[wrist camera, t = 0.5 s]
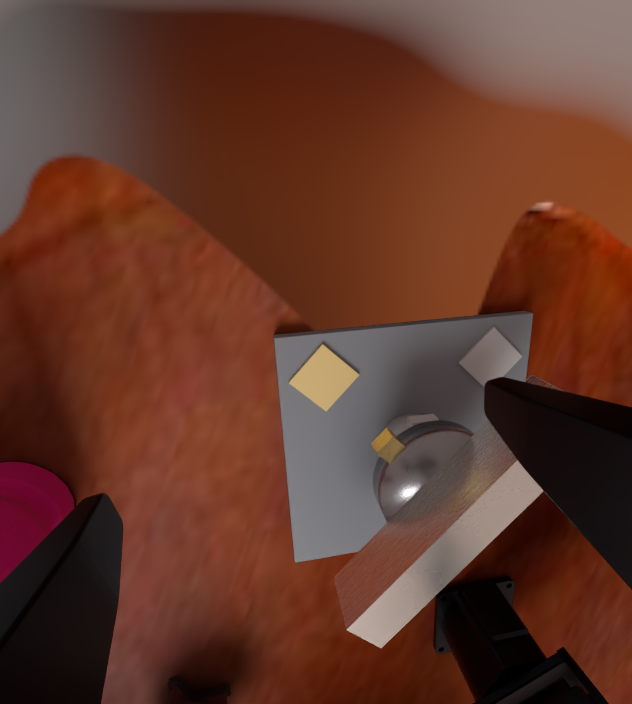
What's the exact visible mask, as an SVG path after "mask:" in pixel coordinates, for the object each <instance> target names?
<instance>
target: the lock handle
mask: <svg viewBox="0 0 632 704" xmlns="http://www.w3.org/2000/svg"><path fill="white" fill-rule="evenodd" d="M525 382H527V383H531V384H535V385H540V386H544V387H548V388H552V389H556V390H560V389H559V388H557V387H555V386H553V385H551V384H549V383H547V382H545V381H543V380H541V379H539V378H537V377H535V376H533V375H531V376H530V377H529V378H528V379H527V380H526V381H525ZM561 391H562V390H561ZM371 444H372V446H373V448H374V450H375V451H376V453H377V454H378V455H379V456H380V457H379V459H378V461H377V463H376V466H375V469H374V473H373V491H374V495H375V498H376V500H377V502H378V504H379V506H380V509H381V511H382V513H383V515H384V517H385V519H386V521H387V523H386V524H385V525H384V526H383V527H382V528H381V529H380V530H379V531H378V532H377V533H376V534H375V535H374V536H373V537H372V539H371V540H370V541H369V542H368V543H367V544H366V545H365V546H364V547H363V548H362V549H361V550H360V551H359V552H358V553H357V554H356V555H355V556H354V557H353V558H352V559H351V560H350V561H349V562H348V563H347V564H346V565H345V566H344V567H343V568H342V569H341V570H340V571H339V572H338V573H337V574H336V575H335V576H334V581H335V585H336V589H337V593H338V597H339V601H340V606H341V610H342V614H343V618H344V622H345V626H346V630H347V631H349V632H351V633H353V634H355V635H357V636H359V637H361V638H362V639H364V640H366V641H368V642H370V643H372V644H374V645H376V646H377V647H379V648H382V647H383V646H384V645H385V644H386V643H387V642H388V641H389V640H390V639H391V638H392V637H393V636H394V635H395V634H397V633H398V632H399V631H400V630H401V629H402V628H403V627H404V626H405V625H406V624H407V623H408V622H409V621H410V620H411V619H412V618H413V617H414V616H415V615H416V614H417V613H418V612H419V611H420V610H421V609H422V608H423V607H424V606H425V605H426V604H428V603H429V602H430V601H431V600H432V599H433V598H434V597H435V596H436V595H437V594H438V593H439V592H440V591H441V590H442V589H443V588H444V587H445V586H446V585H447V584H448V583H449V582H450V581H451V580H452V579H453V578H454V577H455V576H456V575H457V574H459V573H460V572H461V571H462V570H463V569H464V568H465V567H466V566H467V565H468V564H469V563H470V562H471V561H472V560H473V559H474V558H475V557H476V556H477V555H478V554H479V553H480V552H481V551H482V550H483V549H484V548H485V547H486V546H487V545H488V544H489V543H491V542H492V541H493V540H494V539H495V538H496V537H497V536H498V535H499V534H500V533H501V532H502V531H503V530H504V529H505V528H506V527H507V526H508V525H509V524H510V523H511V522H512V521H513V520H514V519H515V518H516V517H517V516H518V515H519V514H520V513H522V512H523V511H524V510H525V509H526V508H527V507H528V506H529V505H530V504H531V503H532V502H533V501H534V500H535V499H536V498H537V497H538V496H539V495H540V494H541V493H542V492H543V490H542V488H541V487H540V486H539V485H538V484H537V483H536V482H535V481H534V479H533V478H532V477H531V476H530V475H529V474H528V473H527V471H526V470H525V469H524V468H523V467H522V465H521V464H520V463H519V462H518V460H517V459H516V458H515V456H514V455H513V453H512V452H511V451H510V449H509V448H508V446H507V445H506V444H505V442H504V441H503V440H502V438H501V437H500V435H499V434H498V433H497V431H496V430H495V429H494V427H493V426H492V424H491V423H490V422H489V420H487V421H486V422H485V423H484V424H483V425H482V426H481V427H480V428H479V429H478V430H477V431H476V432H475V433H473V432H472V431H471V430H469V429H468V428H467V427H465V426H463V425H461V424H458V423H455V422H451V421H445V420H435V421H428V422H423V423H420V424H417V425H415V426H412V427H410V428H408V429H407V430H405V431H403V432H402V433H400V434H399V435H398V436H397V435H395V434H394V433H393V432H391V431H390V430H389V429H388V428H385V429H384V430H383V432H382V433H381V434H380V435H379V436H378V437H377V438H376V439H375V440H374V441H373V442H372V443H371Z"/></svg>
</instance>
